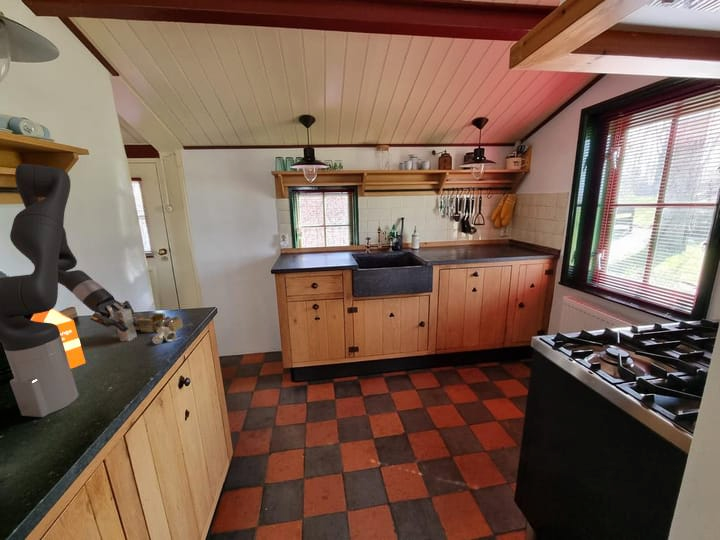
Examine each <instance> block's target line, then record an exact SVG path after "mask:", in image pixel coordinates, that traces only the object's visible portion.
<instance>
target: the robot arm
mask: <svg viewBox="0 0 720 540" xmlns="http://www.w3.org/2000/svg"><path fill="white" fill-rule="evenodd" d="M14 178H15V179H14V180H15V185H16V188H17V192H18V193H19V196H20V198H21V201H22V204H23V205H24V209H21V211H19V212H18V213H17V214H16V216H15V217H14V219H13V222H12V226H11V229H10V234H9V238H10V241H11V243H12V245H13V246H14V247H15V248H16V249H17V250H18V251H19V252H20V253H21V254H22V255H23V256H25V257H26V258H27V259H28V260H29V261H30V262H31V263H32V264H33V267H34V270H33V272H32V273H30V274H21V275H12V276H4V277H0V343H1V345H2V347H3V350H4V352H5V355H6V359H7V361H8V364H9V366H10V367H9V368H10V369H11V373H12V376H13V378H12V379H10V381H9V383H10V387H11V389H12V392H13V394H14V397H15V401H16V404H17V406H18V409H19V411H20V415H21V416H24V417H34V418H35V417H36V418H44V417H47V416H48V415H49V414H53V413H54V412H57V411H60V410H61V409H64V408H65V407H68V406H69V405H71V404H72V403H73V402H75V401H76V400H77V398H78V397H79V392H78V388H77V385H76V381H75V379H74V375H73V372H72V368H70V365H69V362H68V358H67V355H66V352H65V348H64V345H63V342H62V338H61V335H60V331H59V328H58V326H57V325H55V324H53V323H46V322H37V321H32V320H31V319H28V318H26V317H25V316H30V315H34V314H37V313H43V312H47V311H50V310H52V309H54V308H55V307H56V304H57V302H58V296H59V292H58V291H59V284H60V285H61V286H63V287H65V288H66V289H67V290H68V291H69V292H70V293H72V294H73V295H74V296H75V297H76V299H78V300H79V301H80V302H81V303H82V304H84V305H85V306H86V307H87V308H88V309H90V311H92V312H94V313H93V314H92V315H91V317H90V320H91V321H93V322H95V323H97V324H100V325H102V326H105V327H107V328H109V327H111V326H113V327H115V328H116V329H117V328H118V329H119V330H120V331H123V332H125V331H127V329H128V327H127V326H126V325H124V324H123V323H122V322H121V321H119V320H118V318H117V317H116V316H115V314H114V313H113V312H116V311H118V310H121V309H131V313H132V315H133V314H134V313H135V311H134V309H133V307H132V305H131V304H130V302H129V301H128V300H125V301H124V302H120V301H118V300H116V299H115V296H114V295H113V294H112V293H110V291H108V290H107V289H106V288H104V286H102V285H101V284H100V283H98V282H97V281H96V280H94V279H93V278H92V277H91V276H89V275H88V273H86V272H84V271H83V270H80V269H75V270H72V269H74V268H75V267H76V266H77V263H78V260H77V258H76V256H75V255H74V253H73V252H72V250H71V248H70V246H69V244H68V240H67V238H68V237H67V232H66V229H65V227H64V225H65V224H64V221H65V211H66V208H67V207H66V206H67V203H68V199H69V196H70V193H71V192H70V191H71V179H70V178H71V177H70V176H69V174H68V172H67V171H65V170H64V169H61V168H58V167H55V166H54V167H53V166H47V165H40V164H37V165H36V164H31V163H20V164H18V165H17V166H16V168H15V171H14ZM39 198H43V199H41V200H39ZM133 322H134V326H136V325H137V324H138V323H137V321H136V320H135V319H134V318H133Z"/></svg>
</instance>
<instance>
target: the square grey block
mask: <svg viewBox="0 0 720 540" xmlns="http://www.w3.org/2000/svg"><path fill="white" fill-rule="evenodd" d="M113 313H114V314H115V316H116V317H117V318H118V320H119V321H121V322H122V323H123V324H124V325H126V326H127V327H128V329H127V331H125V332H123V331H120V330H119V329H118V328H117V327H116V329H117V333H118V337H119V341H120V342H131V341H132V340H134V339H136V338H137V337H138V335H137V331H136V330H135V326H134V322H133V317H134V316H133V314H132V313H131V309H121V310H118V311H116V312H113ZM135 337H136V338H135ZM133 338H134V339H133Z"/></svg>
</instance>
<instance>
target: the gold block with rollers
mask: <svg viewBox="0 0 720 540" xmlns="http://www.w3.org/2000/svg"><path fill="white" fill-rule="evenodd" d="M150 315H151V317H150V316H149V315H146V316H141V315H138V316H132V317H133V318H134V319H135V320H136V321H137V323H138V324H137V325H136V326H135V330H141V331H140V332H141V333H151V332H153V333H154V332H157V330H158V329H159V328H160V327H168V328H169V330H171V331H174V332H176V330H177V331H178V330H179V329H181V328H183V327H184V324H183V319H182V318H181V317H178V316H174V317H170V316H165V315H166V314H165V312H152V313H151V314H150Z"/></svg>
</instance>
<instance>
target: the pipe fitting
mask: <svg viewBox="0 0 720 540" xmlns="http://www.w3.org/2000/svg"><path fill="white" fill-rule="evenodd" d="M156 332H157V334H155V335H154V336H153V337H152V340H151V341H152V343H153V344H154V345H161V344H163V342H165V341H166V342H169V343H171V342H174V341H175V340H176V339H177V338H178V337H177V334H176V331H175V332H174V331H171V330H169V328H168V327H160V328H159V329H158V330H157V331H156ZM173 340H174V341H173ZM170 341H171V342H170Z"/></svg>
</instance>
